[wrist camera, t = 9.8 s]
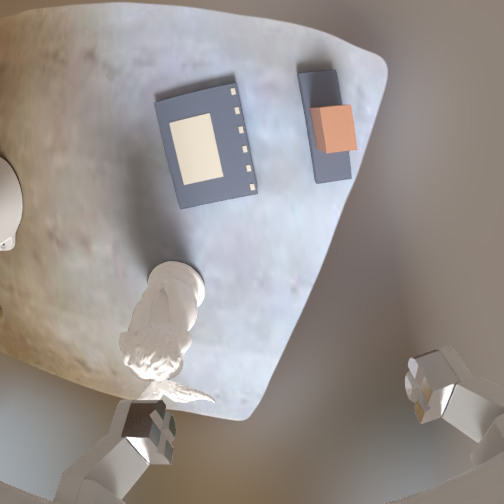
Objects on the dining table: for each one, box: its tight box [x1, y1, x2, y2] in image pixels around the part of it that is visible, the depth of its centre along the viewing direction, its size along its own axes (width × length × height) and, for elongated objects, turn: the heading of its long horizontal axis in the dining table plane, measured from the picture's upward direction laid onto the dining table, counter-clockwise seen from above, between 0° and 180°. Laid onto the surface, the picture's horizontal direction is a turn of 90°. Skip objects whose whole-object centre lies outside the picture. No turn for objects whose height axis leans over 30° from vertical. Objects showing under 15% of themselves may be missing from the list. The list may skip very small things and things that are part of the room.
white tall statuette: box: [119, 261, 215, 403], centre depth 36 cm, size 12×12×22 cm
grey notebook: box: [154, 83, 258, 209], centre depth 37 cm, size 10×14×1 cm
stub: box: [297, 70, 357, 184], centre depth 34 cm, size 5×14×6 cm, turn 11°
